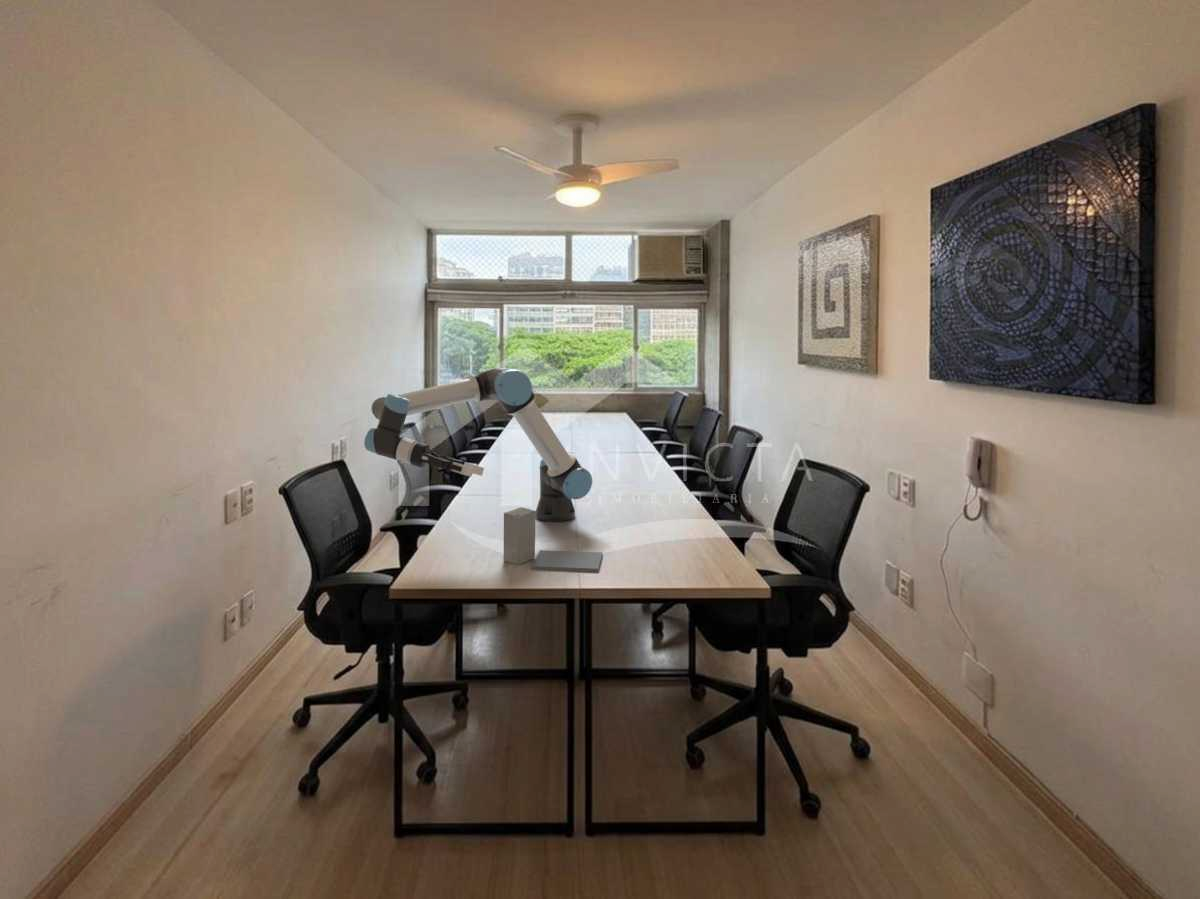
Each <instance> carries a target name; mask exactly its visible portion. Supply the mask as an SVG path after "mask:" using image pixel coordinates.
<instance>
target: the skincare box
mask: <svg viewBox="0 0 1200 899" xmlns="http://www.w3.org/2000/svg"><path fill="white" fill-rule="evenodd" d="M536 519H537V518H536V510H534V509H531V508H527V507H522V506H521V507H518V508H514V509H512V510H509V511H505V512H503V562H505V563H509V564H513V565H516V566H519V565H523V563H526V562H528V561H531V560H533V559H535V558H536Z"/></svg>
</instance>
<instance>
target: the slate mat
mask: <svg viewBox="0 0 1200 899" xmlns="http://www.w3.org/2000/svg"><path fill="white" fill-rule="evenodd" d="M602 558H603V552H602V551H601V552H600V551H599V552H597V551H573V550H571V551H570V550H569V551H567V550H548V549H545V550H544V549H540V550H539V551H538V553H537V555H536V556H535V558H534V560H533V562H532V564H531V565H530V566H531V567H530V569H531V570H537V571H538V570H539V571H561V572H562V571H565V572H566V571H567V572H589V573H591V572H592V573H599V570H600V566H601V562H602V560H603V559H602Z"/></svg>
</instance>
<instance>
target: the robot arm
mask: <svg viewBox="0 0 1200 899" xmlns="http://www.w3.org/2000/svg"><path fill="white" fill-rule="evenodd" d="M535 400H536V394H535V392H533V385H532V381H531V380H530V378H529V377H528V376H527V374H526V373H524V372H523V371H521V370H518V369H517V368H505V367H495V368H491V369H488V370H485V371H482V372H481V371H480V372H478V373H477V372H476V373H474V374H471V375H469V376H468V378H466V379H462V380H457V381H452V382H448V383H444V384H440V385H435V386H431V387H430V386H429V387H426V388H422V389H418V390H413V391H409V392H405V393H401V394H392V393H388V394H387V395H386V396H382V397H378V398H375V399H374V400H373V402H372V404H371V410H370V411H371V413H372V414H373V415H372V416H374V418H375V419H377V420H378V425H377V427H376V428H373V427H372V428H370V429H369V430H368V431H367V433H366V435H365V437H364V442H363V443H364V448H365V450H366V451H368V452H369V453H373V454H376V455H378V456H382V457H384V458H389V459H393V460H396V461H400V462H399V463H400V464H404V463H405V464H410V465H411V466H415V467H419V468H423V467H424V466H425V465H426V464H428V465H429V466H433V467H437V468H440V469H443V470H445V473H450V471H451V472H454V473H458V474H459V475H464V476H466V477H467V476H468V477H470V478H472V476H473V475H475V476H476V475H477V476H480V477H483V473H484V470H485V467H482V466H480V465H479V466H478V465H476V464H472V463H470V462H467V460H466V459H463V460H460V459H456V458H452V457H448V456H446V455H443V454H440V453H438V452H436V451H435V452H433V451H432V452H430V451H431V447H430V445H429V444H427V443H423V442H421V441H417V440H415V439H411V438H409V437H404V436H401V435H402V432H403V428H404V425H405V422H406V419H407V417H408V416H412V415H416V414H417V415H418V414H420V413H421V414H422V413H424V412H428V411H433V410H437V409H441V408H445V407H449V406H452V405H457V404H458V405H459V404H461V403H466V402H470V401H475V402H477V403H478V402H482V401H483V402H484V401H496V402H498V403H499V404H500V406H501V407H502V409H503V410H504V412H505V413H506V415H509V416H513V417H514V419H515V421H517V424H518V425H519V427H521V429H522V431H523V432H524V434H525V435H526V436H527V438H528V440H529V441H530V442H531V444H532V446H533V447H534V448H535V450H536V451H537V453H538V455H539V456H540V457H541V460H540V462H539V492H540V493H539V500H538V502H537V505H536V506H537V507H536V509H535V511H536V519H537V520H540V521H543V522H544V521H545V522H566V521H570V520H573V519H575V518H576V510H575V506H574V503H573V500H580V499H582V498H585V497H586V496H587V495H588V494H589V493H590V491H591V489H592V485H593V477H592V474H591V473H590V471H588V470H587V468H584V467H582V465H581V463H579V460H578V459H577V457H576V456H575V455H573V454H569V453H568V451H567V450H566V449H565V447H564V445H563V444H562V442H561V440H559V438H558V436H557V435H556V432H554V430H553V429H552V427H551V425H550V424H549V422H548V420H547V419H546V418H545V416H544V414H543V413H542V412H541V410H540V408H539V407H538V406H537V404H536V402H535Z"/></svg>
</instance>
